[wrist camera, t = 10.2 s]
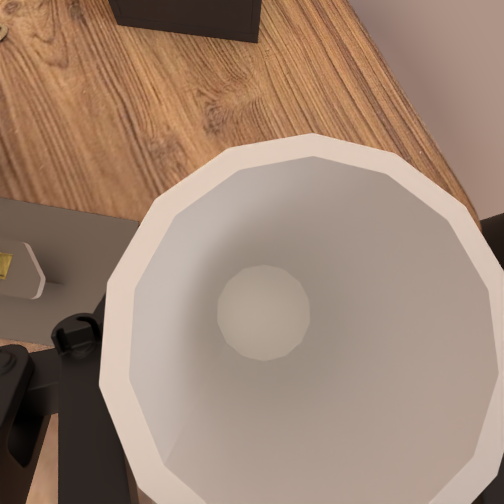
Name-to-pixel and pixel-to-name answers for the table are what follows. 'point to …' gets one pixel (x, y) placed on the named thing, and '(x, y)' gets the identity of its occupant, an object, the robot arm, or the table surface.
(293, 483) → the foam cup
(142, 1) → the dark grey square tray
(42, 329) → the platform
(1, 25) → the tool
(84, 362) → the robot arm
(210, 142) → the table surface
